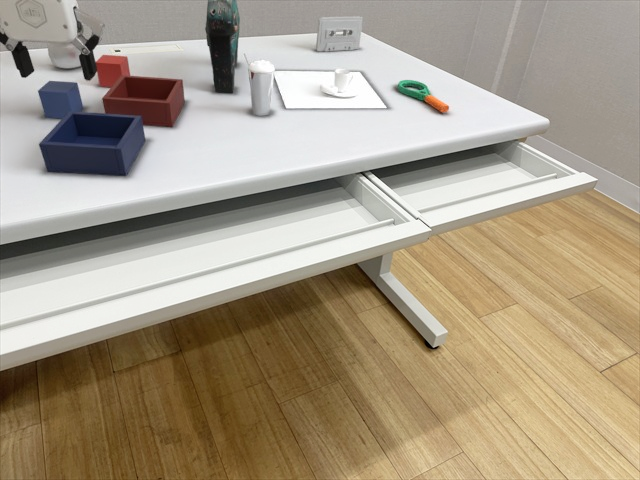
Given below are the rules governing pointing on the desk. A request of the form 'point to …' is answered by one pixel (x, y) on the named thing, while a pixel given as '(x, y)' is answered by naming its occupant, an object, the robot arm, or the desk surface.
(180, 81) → the red bin
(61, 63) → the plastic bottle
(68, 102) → the blue block
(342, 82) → the teacup and saucer
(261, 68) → the milkshake
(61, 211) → the desk surface
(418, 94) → the magnifying glass
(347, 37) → the cassette
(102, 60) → the red block
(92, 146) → the blue bin
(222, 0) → the power drill
